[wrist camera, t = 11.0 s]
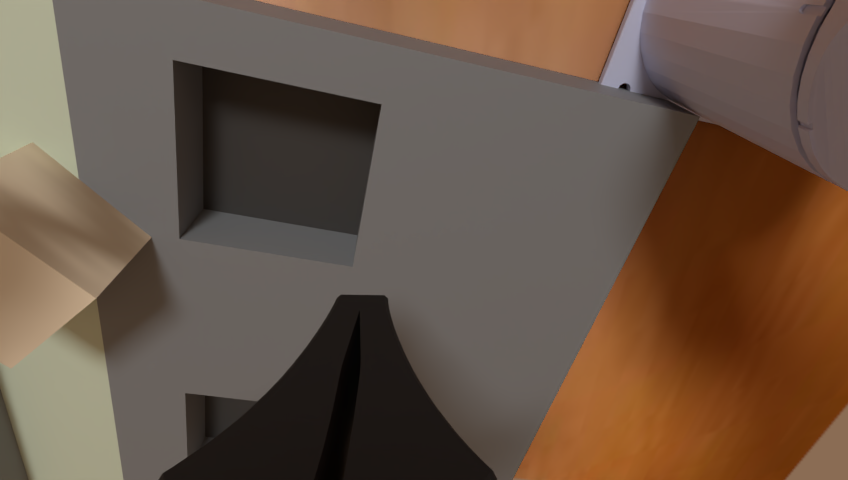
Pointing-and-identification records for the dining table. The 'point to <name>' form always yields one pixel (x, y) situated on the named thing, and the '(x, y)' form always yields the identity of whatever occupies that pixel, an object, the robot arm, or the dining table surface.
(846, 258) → the dining table surface
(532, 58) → the dining table surface
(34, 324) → the birch block
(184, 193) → the board
